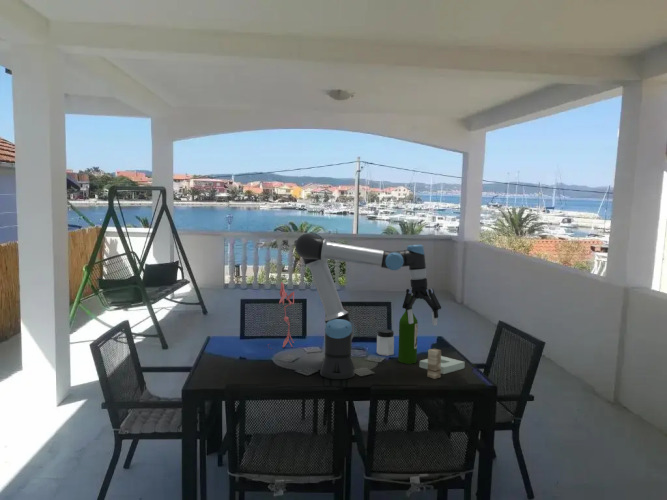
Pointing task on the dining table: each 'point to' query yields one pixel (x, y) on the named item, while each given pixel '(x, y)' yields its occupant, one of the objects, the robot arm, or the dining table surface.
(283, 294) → the figurine
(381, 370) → the dining table surface
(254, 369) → the dining table surface
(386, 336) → the jar
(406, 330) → the wine bottle
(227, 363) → the dining table surface
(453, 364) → the plinth
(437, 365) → the peg
